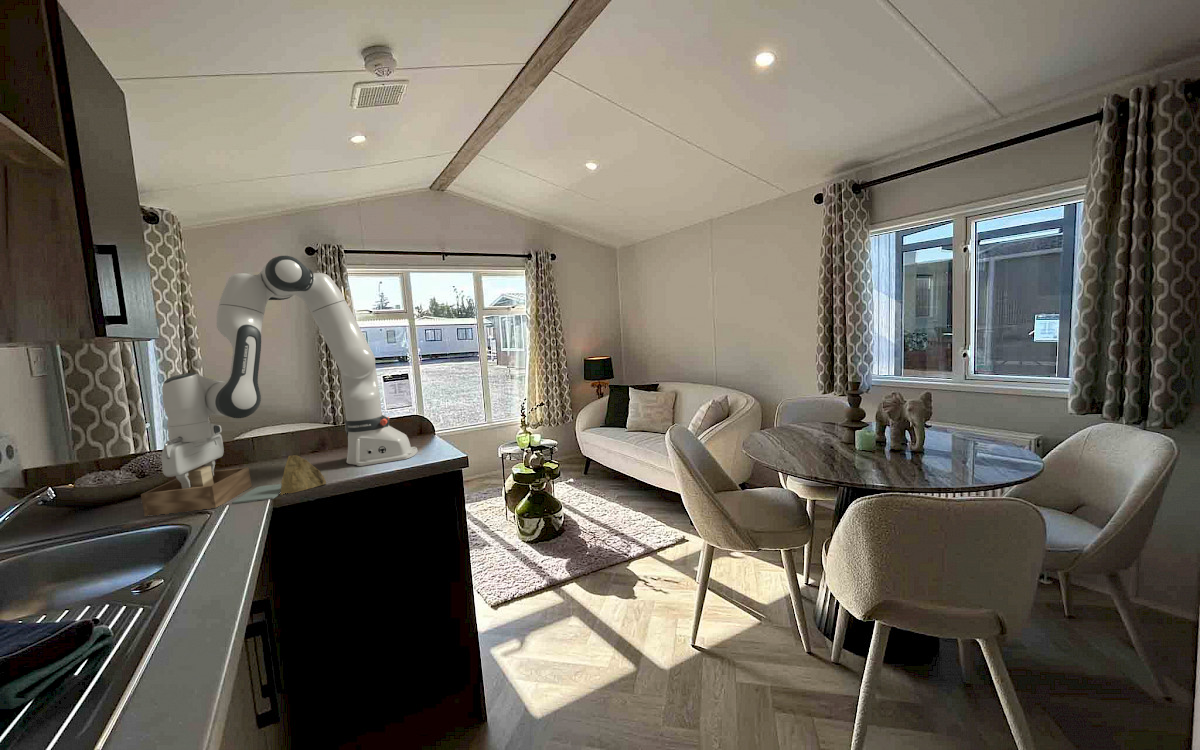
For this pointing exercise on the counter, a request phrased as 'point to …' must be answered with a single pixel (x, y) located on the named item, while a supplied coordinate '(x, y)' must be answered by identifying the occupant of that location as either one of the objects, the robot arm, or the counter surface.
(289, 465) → the rock
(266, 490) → the mat
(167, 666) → the counter surface
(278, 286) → the robot arm
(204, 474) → the block
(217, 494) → the crate
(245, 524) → the counter surface
